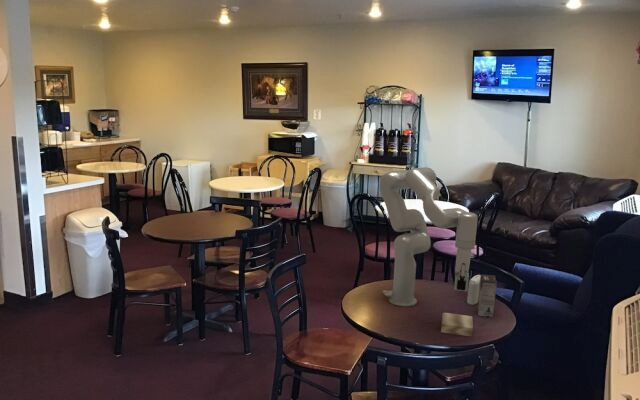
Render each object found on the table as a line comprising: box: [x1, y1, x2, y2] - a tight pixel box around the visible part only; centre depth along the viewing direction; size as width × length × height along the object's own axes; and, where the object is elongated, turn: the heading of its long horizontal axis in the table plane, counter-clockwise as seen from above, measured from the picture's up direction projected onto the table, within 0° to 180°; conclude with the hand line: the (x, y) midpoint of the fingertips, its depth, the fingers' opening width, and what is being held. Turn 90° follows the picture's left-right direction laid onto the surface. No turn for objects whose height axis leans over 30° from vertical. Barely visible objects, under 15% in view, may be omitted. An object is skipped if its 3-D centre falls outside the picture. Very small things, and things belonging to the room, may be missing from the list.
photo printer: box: [466, 274, 481, 306], centre depth 255 cm, size 10×4×12 cm, turn 140°
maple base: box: [440, 312, 474, 337], centre depth 227 cm, size 12×12×4 cm
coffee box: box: [476, 274, 498, 318], centre depth 243 cm, size 9×6×16 cm
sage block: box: [454, 272, 470, 292], centre depth 223 cm, size 5×5×6 cm
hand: (460, 286), depth 223 cm, fingers closed on sage block, 5 cm apart
